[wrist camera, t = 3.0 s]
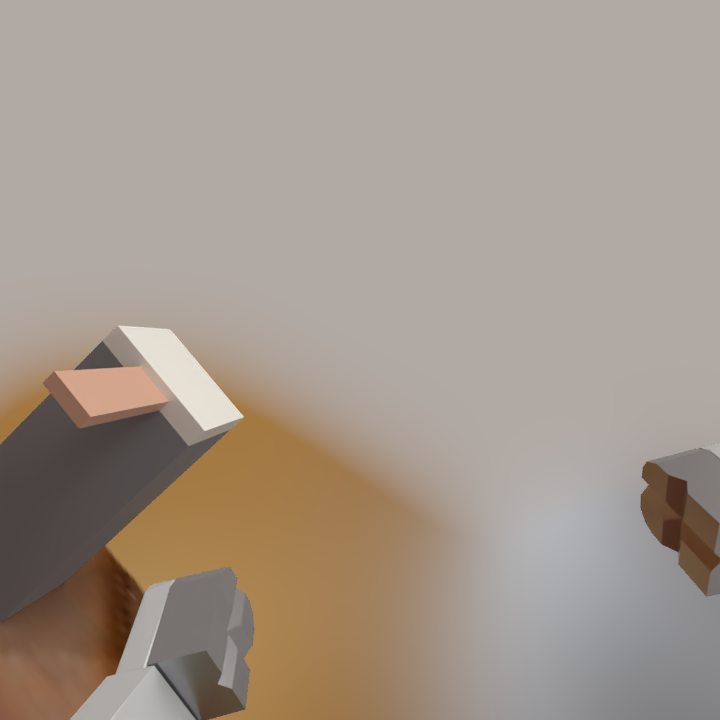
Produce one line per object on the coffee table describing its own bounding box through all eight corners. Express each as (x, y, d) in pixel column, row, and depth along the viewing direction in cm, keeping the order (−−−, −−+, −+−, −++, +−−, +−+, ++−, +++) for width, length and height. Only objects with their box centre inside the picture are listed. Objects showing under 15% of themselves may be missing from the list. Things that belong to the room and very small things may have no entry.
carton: (-4, 625, 42) (188, 446, 39) (-79, 524, 44) (102, 340, 40) (64, 582, 50) (230, 429, 47) (0, 497, 51) (157, 342, 48)
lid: (115, 475, 30) (136, 455, 30) (7, 338, 31) (26, 318, 31) (230, 429, 47) (243, 417, 47) (157, 342, 48) (170, 329, 48)
